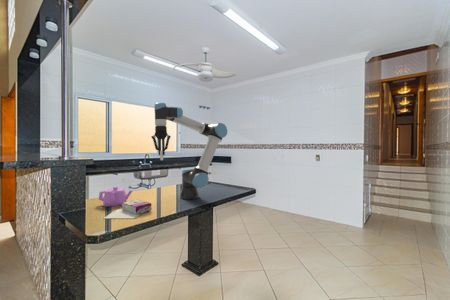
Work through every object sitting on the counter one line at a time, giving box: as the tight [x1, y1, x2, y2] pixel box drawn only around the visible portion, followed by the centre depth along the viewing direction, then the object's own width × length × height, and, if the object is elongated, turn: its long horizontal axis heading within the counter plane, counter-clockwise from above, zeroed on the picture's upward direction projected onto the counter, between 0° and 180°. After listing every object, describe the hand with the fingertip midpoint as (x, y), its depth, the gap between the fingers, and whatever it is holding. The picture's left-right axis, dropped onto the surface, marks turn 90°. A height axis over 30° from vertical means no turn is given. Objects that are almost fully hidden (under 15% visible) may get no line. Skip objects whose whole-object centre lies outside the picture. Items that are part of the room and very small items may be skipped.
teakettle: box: [98, 186, 133, 207], centre depth 161 cm, size 17×17×12 cm
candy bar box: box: [121, 199, 153, 215], centre depth 145 cm, size 11×5×16 cm
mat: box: [103, 208, 142, 220], centre depth 138 cm, size 18×18×1 cm
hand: (161, 160), depth 155 cm, fingers closed
